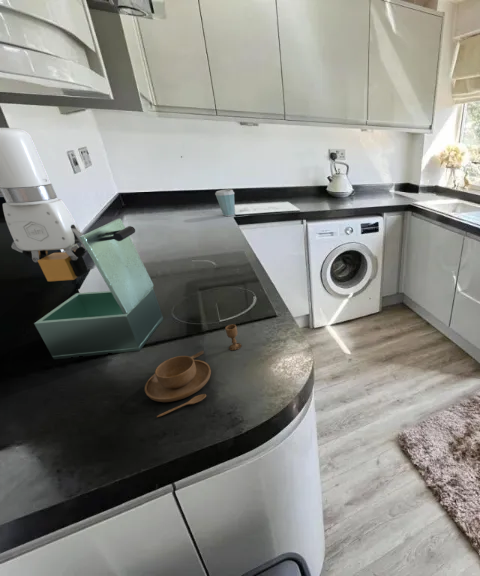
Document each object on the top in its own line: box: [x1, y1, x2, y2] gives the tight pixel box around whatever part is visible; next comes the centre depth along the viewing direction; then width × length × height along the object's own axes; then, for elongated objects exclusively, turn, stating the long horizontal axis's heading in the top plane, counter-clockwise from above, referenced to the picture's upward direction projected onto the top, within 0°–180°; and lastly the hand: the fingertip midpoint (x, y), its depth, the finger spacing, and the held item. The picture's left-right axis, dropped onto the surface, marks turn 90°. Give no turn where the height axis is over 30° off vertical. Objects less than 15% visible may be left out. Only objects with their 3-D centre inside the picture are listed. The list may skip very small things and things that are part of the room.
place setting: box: [144, 323, 242, 418], centre depth 69 cm, size 18×20×6 cm
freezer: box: [33, 287, 164, 360], centre depth 81 cm, size 18×15×10 cm
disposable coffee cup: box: [214, 188, 236, 217], centre depth 197 cm, size 11×11×15 cm
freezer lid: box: [80, 218, 155, 314], centre depth 76 cm, size 19×15×5 cm
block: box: [37, 251, 78, 282], centre depth 73 cm, size 5×5×5 cm
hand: (67, 274), depth 74 cm, fingers closed on block, 5 cm apart
